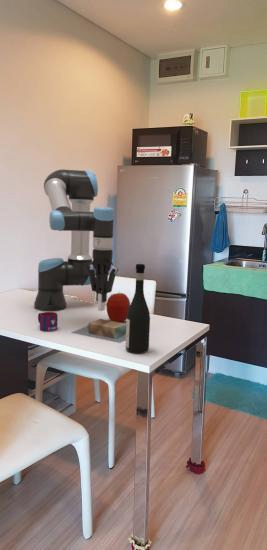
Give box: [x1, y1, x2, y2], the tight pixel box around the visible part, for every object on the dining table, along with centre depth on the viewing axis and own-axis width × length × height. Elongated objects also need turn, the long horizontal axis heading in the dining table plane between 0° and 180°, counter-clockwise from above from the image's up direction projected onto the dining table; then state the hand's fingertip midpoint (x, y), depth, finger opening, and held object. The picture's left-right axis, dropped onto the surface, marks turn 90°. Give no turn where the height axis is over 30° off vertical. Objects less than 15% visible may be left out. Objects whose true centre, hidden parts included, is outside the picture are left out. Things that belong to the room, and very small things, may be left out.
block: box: [87, 318, 126, 339], centre depth 164 cm, size 4×8×12 cm
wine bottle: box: [125, 263, 151, 354], centre depth 146 cm, size 8×8×30 cm
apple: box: [105, 292, 131, 323], centre depth 182 cm, size 10×10×14 cm
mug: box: [37, 311, 59, 333], centre depth 168 cm, size 7×10×7 cm
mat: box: [71, 325, 126, 344], centre depth 165 cm, size 22×14×1 cm, turn 61°
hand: (101, 310), depth 165 cm, fingers closed
